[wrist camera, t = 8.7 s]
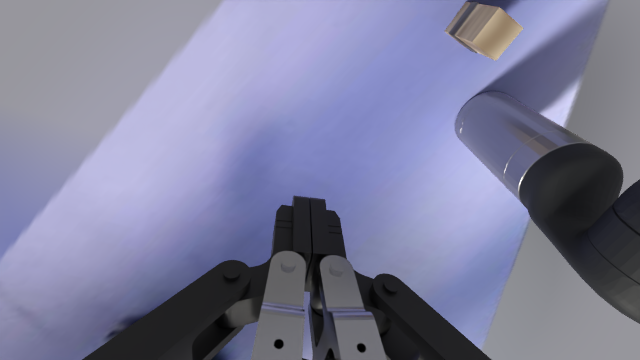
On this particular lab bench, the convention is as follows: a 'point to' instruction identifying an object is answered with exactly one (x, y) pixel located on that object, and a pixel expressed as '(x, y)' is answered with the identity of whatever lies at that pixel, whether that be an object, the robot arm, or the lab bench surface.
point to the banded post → (483, 29)
